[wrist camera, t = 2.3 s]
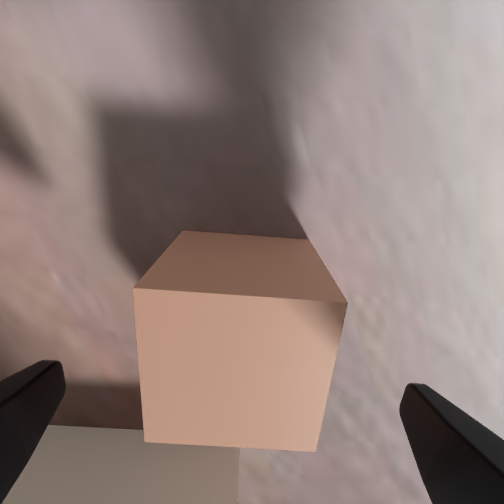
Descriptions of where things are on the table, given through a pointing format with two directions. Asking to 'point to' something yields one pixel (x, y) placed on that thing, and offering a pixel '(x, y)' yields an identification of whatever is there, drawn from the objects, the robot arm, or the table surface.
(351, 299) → the table surface
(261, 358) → the terracotta block
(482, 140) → the table surface
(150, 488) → the cream box
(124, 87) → the table surface
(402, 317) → the table surface
